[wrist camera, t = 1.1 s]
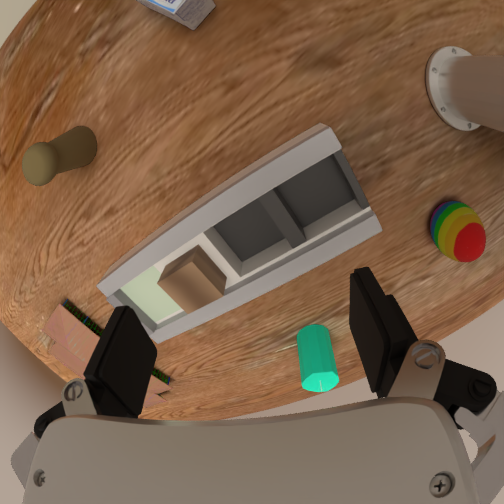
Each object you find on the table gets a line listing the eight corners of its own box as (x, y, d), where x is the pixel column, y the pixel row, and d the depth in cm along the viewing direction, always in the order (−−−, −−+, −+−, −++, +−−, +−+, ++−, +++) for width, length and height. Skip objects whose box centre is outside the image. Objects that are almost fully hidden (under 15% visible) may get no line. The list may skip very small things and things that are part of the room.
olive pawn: (104, 145, 32) (56, 167, 23) (82, 174, 34) (35, 203, 25) (80, 117, 30) (28, 131, 21) (59, 147, 32) (9, 169, 23)
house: (135, 401, 67) (128, 424, 60) (40, 331, 55) (26, 353, 48) (184, 382, 59) (178, 411, 52) (66, 293, 47) (47, 320, 40)
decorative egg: (469, 204, 35) (506, 233, 26) (448, 247, 39) (479, 282, 30) (437, 186, 34) (476, 215, 25) (415, 234, 38) (446, 271, 29)
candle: (333, 338, 49) (345, 391, 39) (304, 350, 51) (311, 403, 41) (321, 319, 47) (333, 376, 36) (290, 332, 49) (295, 389, 38)
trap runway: (320, 122, 31) (331, 127, 26) (368, 212, 37) (384, 232, 31) (110, 265, 43) (94, 288, 37) (165, 321, 48) (157, 345, 43)
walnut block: (198, 244, 35) (191, 261, 32) (226, 277, 38) (223, 296, 34) (165, 265, 37) (156, 283, 34) (193, 295, 40) (187, 314, 36)
